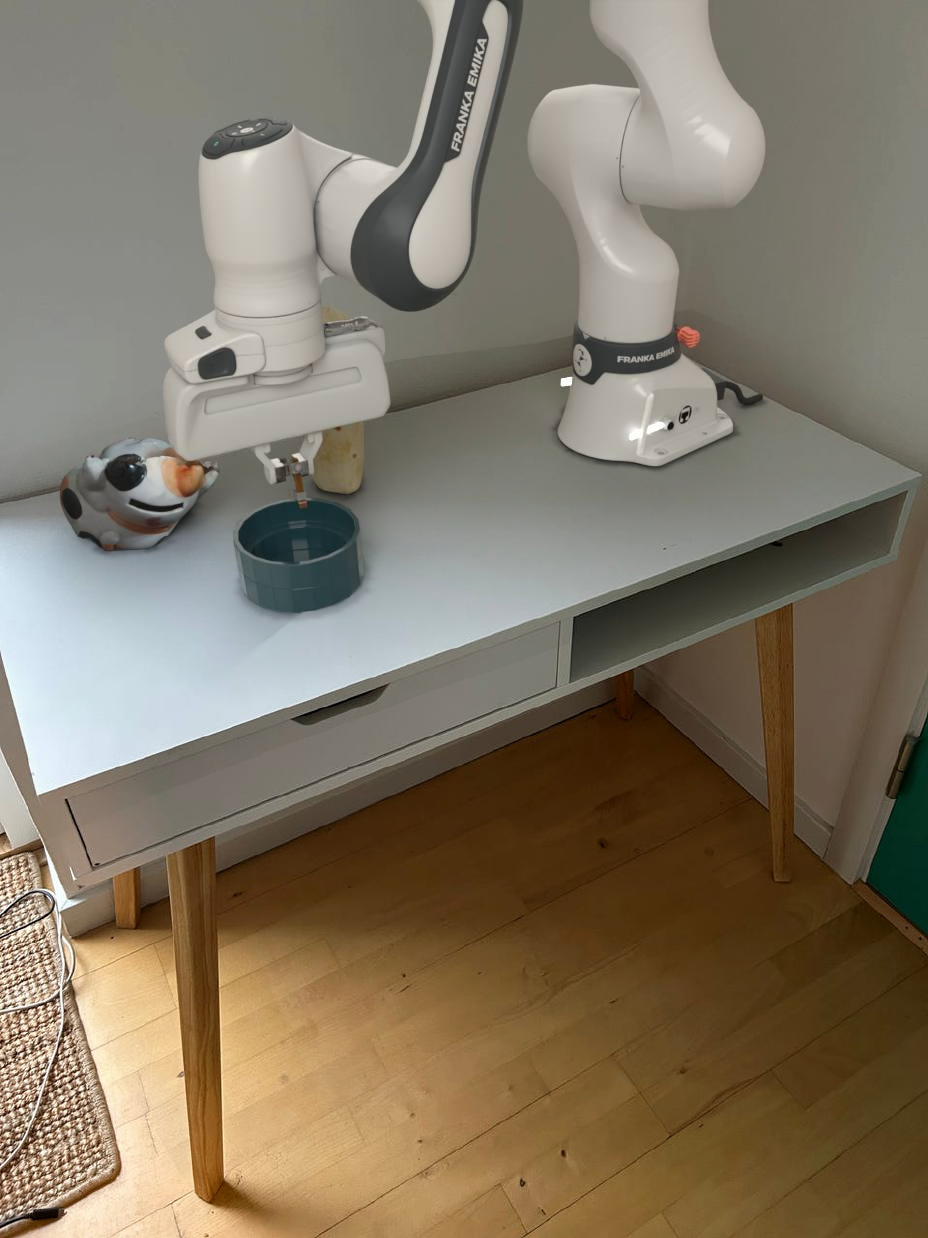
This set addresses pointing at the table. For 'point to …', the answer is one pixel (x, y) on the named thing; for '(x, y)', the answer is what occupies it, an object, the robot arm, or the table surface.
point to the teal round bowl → (299, 555)
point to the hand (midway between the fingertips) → (289, 477)
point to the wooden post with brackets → (295, 470)
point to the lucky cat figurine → (133, 493)
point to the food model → (339, 446)
